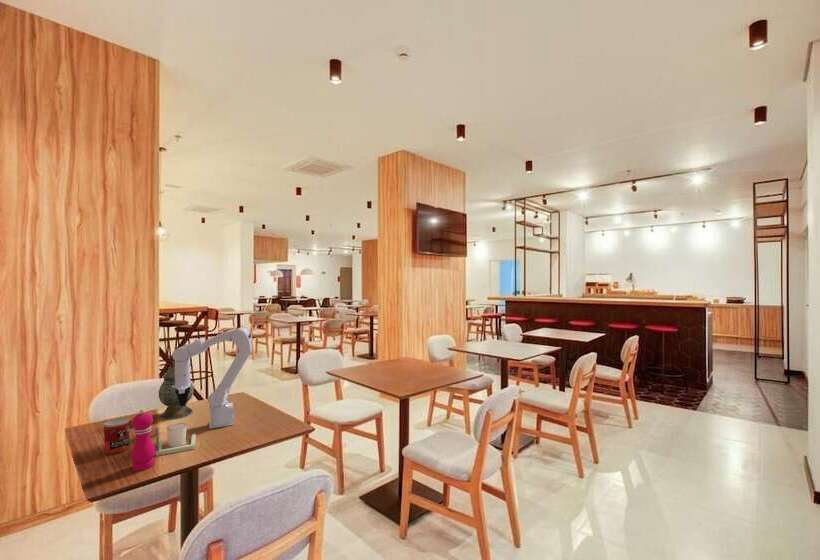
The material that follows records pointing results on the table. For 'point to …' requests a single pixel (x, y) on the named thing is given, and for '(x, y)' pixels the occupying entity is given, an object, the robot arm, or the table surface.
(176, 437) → the beige faceted cylinder
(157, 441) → the pale green angular frame
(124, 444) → the canned food
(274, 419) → the table surface
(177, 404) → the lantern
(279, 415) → the table surface
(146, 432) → the pepper mill
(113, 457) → the table surface
